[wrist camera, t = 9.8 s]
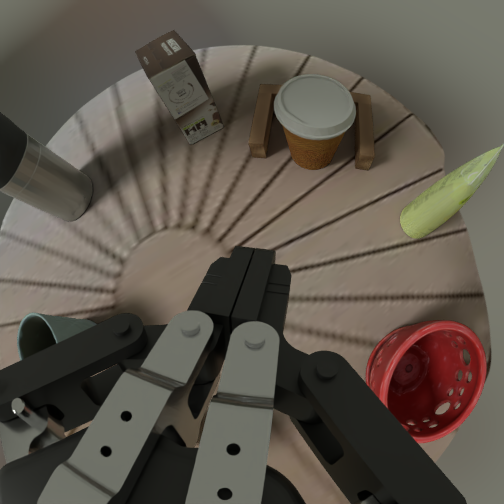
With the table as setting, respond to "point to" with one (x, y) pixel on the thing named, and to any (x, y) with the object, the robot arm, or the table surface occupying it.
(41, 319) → the teal tapered cup
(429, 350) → the plant pot
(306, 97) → the disposable coffee cup
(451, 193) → the tube
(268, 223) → the table surface
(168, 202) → the table surface
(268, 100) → the dock
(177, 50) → the coffee box
